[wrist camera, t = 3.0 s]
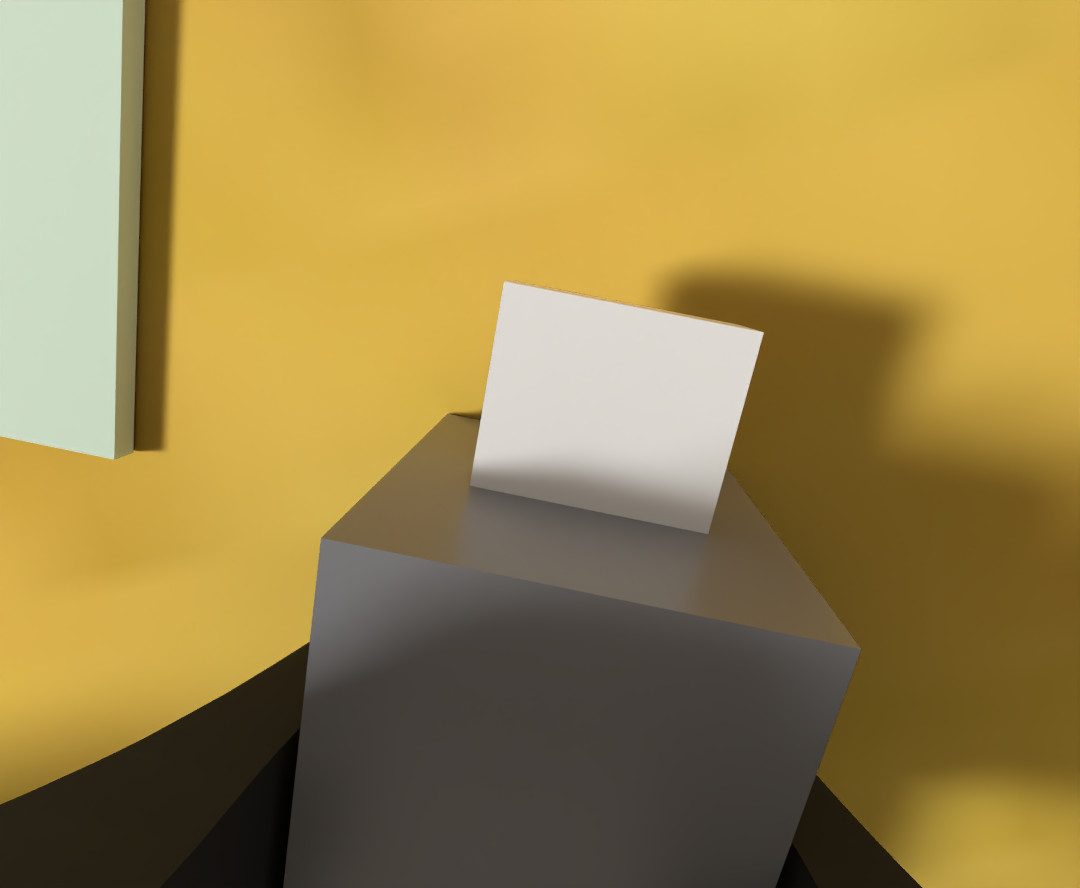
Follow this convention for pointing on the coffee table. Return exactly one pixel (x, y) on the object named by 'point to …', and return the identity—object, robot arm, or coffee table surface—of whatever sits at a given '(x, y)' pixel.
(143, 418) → the coffee table surface
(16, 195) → the mat
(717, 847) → the grey power adapter
